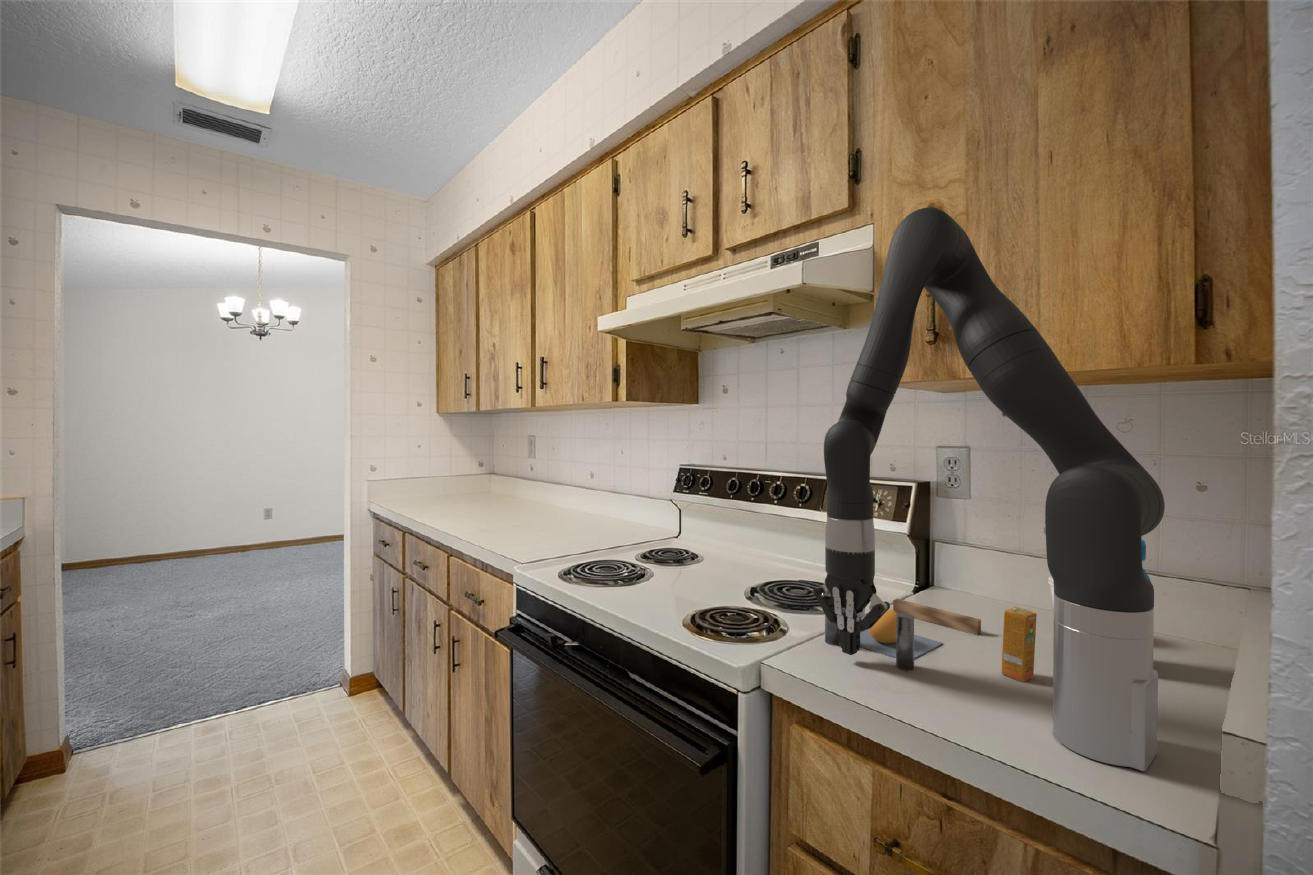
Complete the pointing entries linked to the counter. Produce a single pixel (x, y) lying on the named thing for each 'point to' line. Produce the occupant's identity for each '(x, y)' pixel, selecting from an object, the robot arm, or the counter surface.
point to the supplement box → (1018, 643)
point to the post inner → (905, 641)
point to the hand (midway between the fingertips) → (849, 652)
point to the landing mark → (920, 645)
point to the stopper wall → (938, 616)
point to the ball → (885, 628)
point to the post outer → (831, 633)
